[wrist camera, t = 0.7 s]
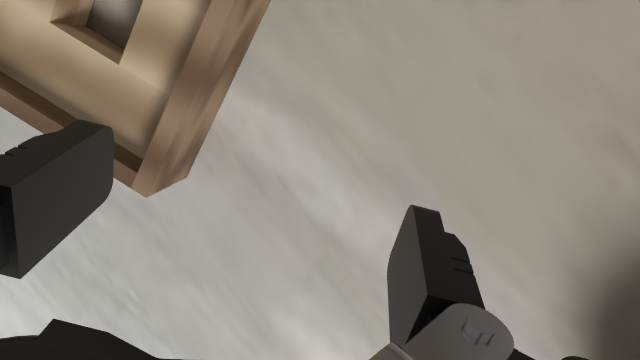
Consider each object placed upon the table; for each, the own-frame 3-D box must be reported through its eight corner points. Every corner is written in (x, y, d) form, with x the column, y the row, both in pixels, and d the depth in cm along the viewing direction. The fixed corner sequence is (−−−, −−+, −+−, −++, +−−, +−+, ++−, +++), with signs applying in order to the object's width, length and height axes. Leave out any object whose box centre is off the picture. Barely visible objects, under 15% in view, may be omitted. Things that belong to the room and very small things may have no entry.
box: (64, -186, 30) (-10, -237, 25) (294, -51, 29) (268, -75, 24) (-5, 59, 36) (-77, 58, 31) (186, 177, 35) (146, 197, 30)
